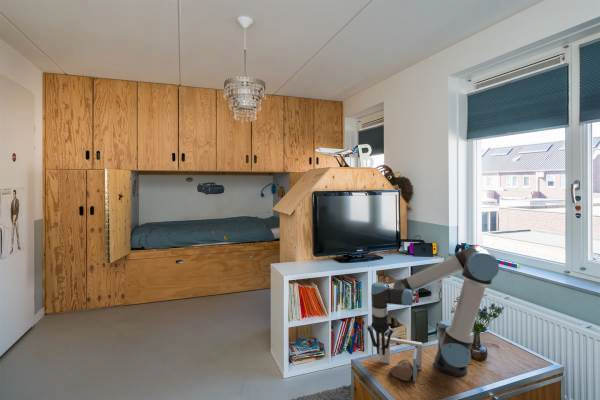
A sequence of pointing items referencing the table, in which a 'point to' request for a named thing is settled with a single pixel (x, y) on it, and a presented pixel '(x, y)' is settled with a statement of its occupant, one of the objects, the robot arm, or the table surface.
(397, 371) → the stone
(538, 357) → the table surface
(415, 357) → the door
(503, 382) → the table surface
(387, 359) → the wall frame
